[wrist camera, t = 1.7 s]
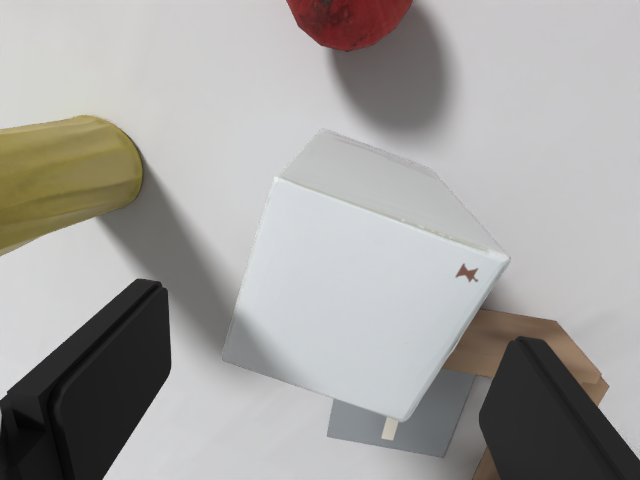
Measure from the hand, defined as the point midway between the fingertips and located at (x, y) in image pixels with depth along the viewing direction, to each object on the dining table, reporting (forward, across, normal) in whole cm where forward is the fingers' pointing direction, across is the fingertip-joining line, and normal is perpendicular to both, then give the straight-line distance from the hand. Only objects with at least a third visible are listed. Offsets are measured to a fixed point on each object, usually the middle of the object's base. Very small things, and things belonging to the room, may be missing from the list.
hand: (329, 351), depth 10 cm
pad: (+14, -7, +16) cm, 22 cm away
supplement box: (+14, -1, 0) cm, 14 cm away
